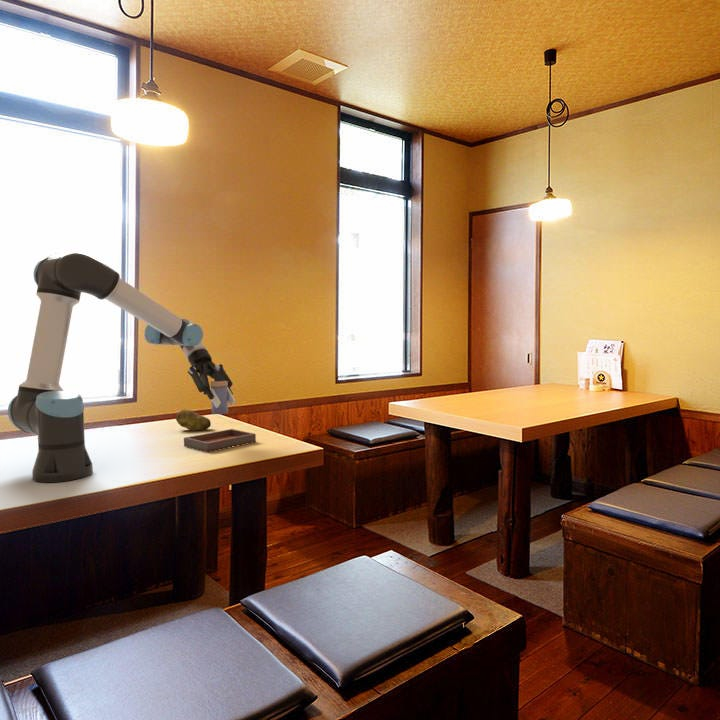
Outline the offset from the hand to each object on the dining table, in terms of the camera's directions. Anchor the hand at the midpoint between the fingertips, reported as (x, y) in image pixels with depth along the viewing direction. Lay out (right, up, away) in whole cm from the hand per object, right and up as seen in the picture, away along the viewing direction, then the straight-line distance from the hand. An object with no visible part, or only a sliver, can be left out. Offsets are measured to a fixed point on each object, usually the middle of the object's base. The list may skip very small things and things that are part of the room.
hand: (226, 404), depth 196 cm
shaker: (-3, -3, +3) cm, 5 cm away
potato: (-20, -13, +29) cm, 37 cm away
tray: (-3, -14, +3) cm, 15 cm away
